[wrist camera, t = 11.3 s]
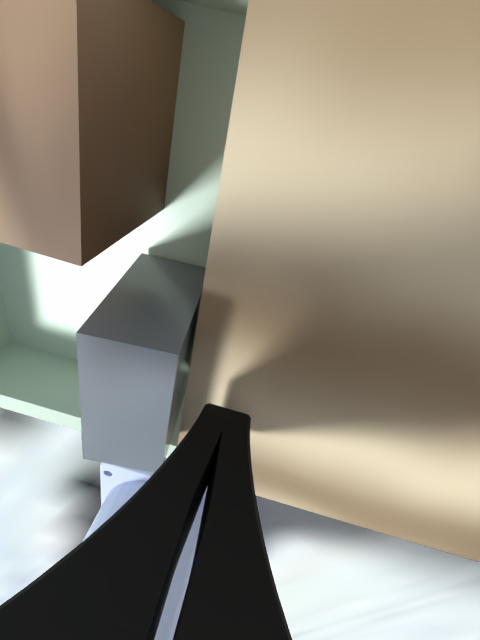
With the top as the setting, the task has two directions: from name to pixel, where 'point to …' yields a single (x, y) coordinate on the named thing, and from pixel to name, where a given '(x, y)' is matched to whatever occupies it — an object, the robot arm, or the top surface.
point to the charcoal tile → (138, 362)
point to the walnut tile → (84, 121)
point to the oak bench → (352, 265)
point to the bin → (150, 238)
